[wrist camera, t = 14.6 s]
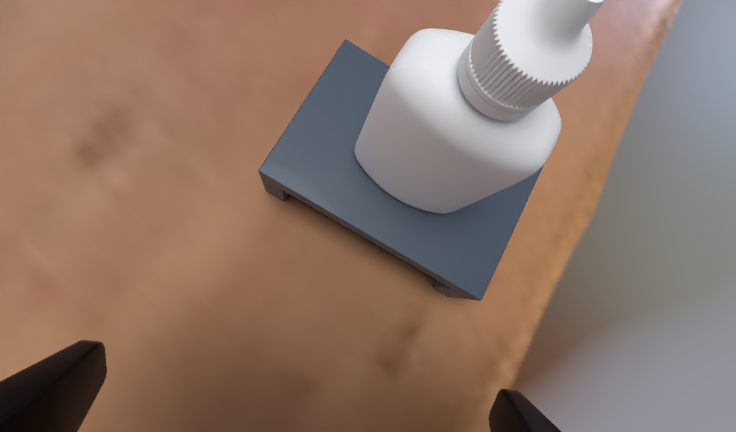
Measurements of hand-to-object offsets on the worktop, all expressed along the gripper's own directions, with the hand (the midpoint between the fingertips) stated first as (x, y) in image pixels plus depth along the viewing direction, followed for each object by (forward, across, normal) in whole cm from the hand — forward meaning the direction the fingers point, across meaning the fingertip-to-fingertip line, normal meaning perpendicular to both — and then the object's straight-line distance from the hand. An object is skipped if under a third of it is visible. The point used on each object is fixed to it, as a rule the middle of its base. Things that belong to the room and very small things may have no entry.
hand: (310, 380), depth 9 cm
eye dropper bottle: (+12, -3, -2) cm, 12 cm away
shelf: (+15, -3, 0) cm, 15 cm away
